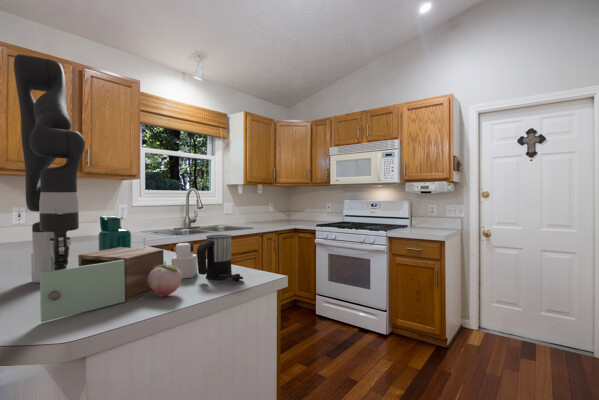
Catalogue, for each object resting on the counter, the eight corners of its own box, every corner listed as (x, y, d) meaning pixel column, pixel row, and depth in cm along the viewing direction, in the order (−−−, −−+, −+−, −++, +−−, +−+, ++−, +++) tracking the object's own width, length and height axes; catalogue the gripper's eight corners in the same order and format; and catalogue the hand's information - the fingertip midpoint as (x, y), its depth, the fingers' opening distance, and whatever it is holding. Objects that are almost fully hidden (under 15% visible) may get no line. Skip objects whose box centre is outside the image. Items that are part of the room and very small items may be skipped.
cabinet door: (43, 323, 69) (42, 273, 69) (40, 321, 71) (39, 272, 71) (126, 302, 83) (126, 260, 83) (123, 300, 84) (122, 259, 84)
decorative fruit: (188, 292, 92) (188, 259, 92) (171, 301, 84) (171, 265, 84) (161, 290, 94) (161, 258, 94) (142, 299, 86) (141, 264, 86)
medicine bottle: (177, 273, 116) (177, 241, 115) (197, 273, 116) (196, 241, 116) (171, 278, 108) (171, 244, 108) (192, 277, 109) (191, 244, 109)
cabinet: (79, 295, 90) (78, 254, 90) (120, 282, 104) (119, 247, 103) (127, 301, 85) (126, 258, 85) (163, 287, 98) (163, 249, 98)
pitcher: (133, 276, 112) (133, 215, 111) (109, 282, 104) (108, 217, 104) (119, 273, 117) (118, 215, 117) (95, 278, 110) (94, 216, 110)
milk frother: (213, 273, 116) (213, 233, 116) (253, 275, 113) (253, 234, 112) (193, 283, 102) (192, 238, 102) (237, 286, 99) (237, 239, 98)
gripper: (39, 210, 78) (40, 278, 78) (39, 213, 68) (41, 291, 68) (75, 209, 83) (76, 273, 83) (81, 211, 73) (82, 284, 73)
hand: (60, 281), depth 76 cm, fingers closed
